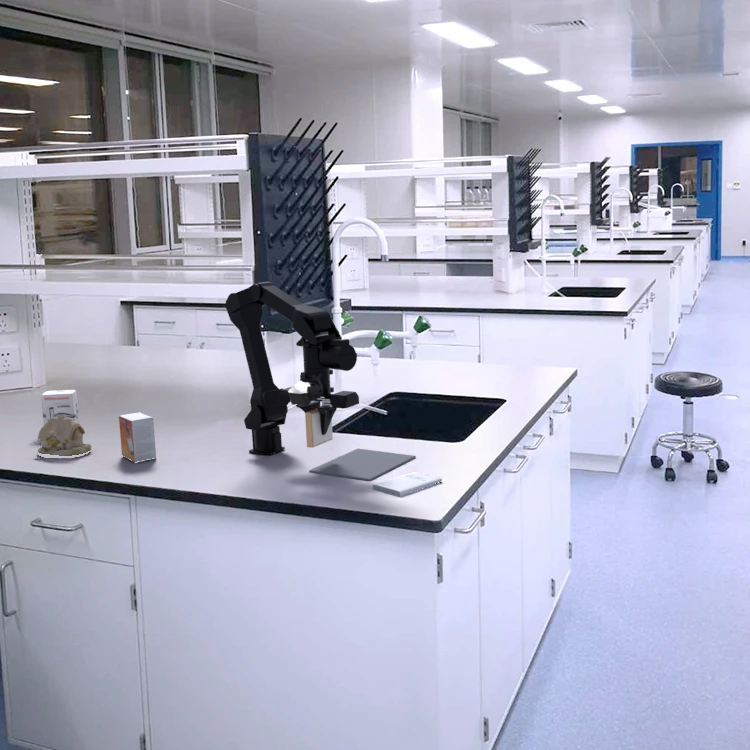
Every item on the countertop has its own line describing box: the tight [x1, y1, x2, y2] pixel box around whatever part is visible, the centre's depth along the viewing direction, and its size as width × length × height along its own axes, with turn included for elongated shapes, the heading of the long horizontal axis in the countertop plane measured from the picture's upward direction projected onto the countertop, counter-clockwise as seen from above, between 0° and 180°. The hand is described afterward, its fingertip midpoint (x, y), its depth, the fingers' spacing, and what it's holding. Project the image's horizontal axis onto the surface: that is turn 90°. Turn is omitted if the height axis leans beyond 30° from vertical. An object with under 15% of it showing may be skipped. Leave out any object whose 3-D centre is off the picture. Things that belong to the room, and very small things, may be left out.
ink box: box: [40, 389, 80, 426], centre depth 244 cm, size 9×5×12 cm, turn 95°
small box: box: [118, 411, 157, 462], centre depth 216 cm, size 8×6×10 cm
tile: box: [304, 408, 333, 449], centre depth 203 cm, size 2×8×8 cm, turn 148°
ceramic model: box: [37, 414, 92, 456], centre depth 224 cm, size 14×11×10 cm
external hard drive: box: [372, 471, 443, 497], centre depth 187 cm, size 2×8×12 cm
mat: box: [308, 448, 417, 482], centre depth 204 cm, size 16×20×1 cm
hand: (320, 434), depth 204 cm, fingers closed on tile, 2 cm apart
